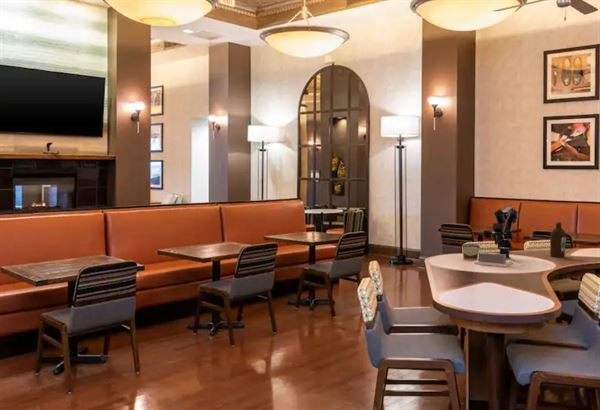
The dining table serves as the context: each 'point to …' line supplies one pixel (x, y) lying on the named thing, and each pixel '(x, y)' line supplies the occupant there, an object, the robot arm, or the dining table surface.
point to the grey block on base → (493, 259)
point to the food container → (470, 251)
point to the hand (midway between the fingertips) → (495, 244)
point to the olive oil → (557, 241)
